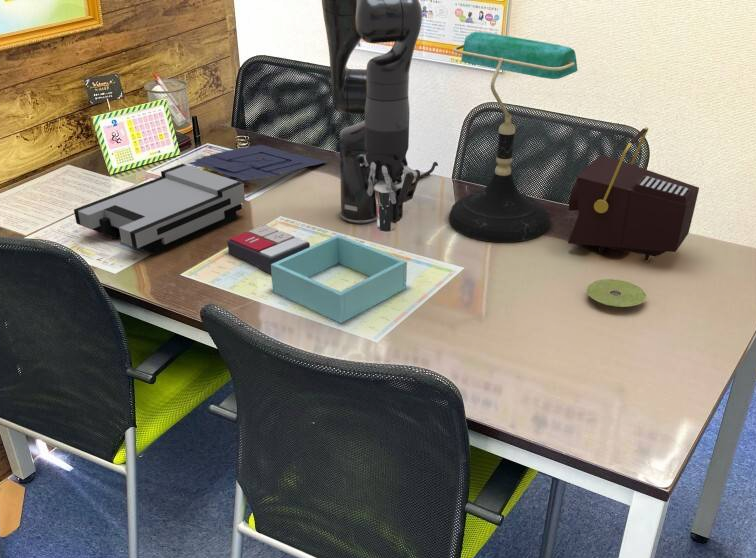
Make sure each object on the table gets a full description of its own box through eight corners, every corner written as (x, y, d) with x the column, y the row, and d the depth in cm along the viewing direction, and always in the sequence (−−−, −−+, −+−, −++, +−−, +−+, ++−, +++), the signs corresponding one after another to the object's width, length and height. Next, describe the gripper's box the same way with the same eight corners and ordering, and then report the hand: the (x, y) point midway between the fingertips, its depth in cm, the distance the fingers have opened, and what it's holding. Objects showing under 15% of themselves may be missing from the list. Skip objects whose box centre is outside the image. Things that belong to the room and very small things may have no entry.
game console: (79, 238, 194) (72, 204, 189) (186, 195, 215) (182, 163, 210) (139, 264, 184) (133, 228, 179) (246, 216, 204) (243, 183, 199)
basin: (338, 260, 184) (337, 234, 181) (406, 288, 174) (407, 261, 170) (272, 291, 173) (270, 264, 170) (341, 323, 162) (340, 295, 159)
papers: (182, 172, 224) (182, 158, 223) (260, 154, 246) (260, 141, 244) (251, 193, 212) (251, 178, 211) (327, 172, 234) (328, 158, 232)
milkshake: (368, 224, 159) (368, 172, 153) (397, 223, 159) (398, 170, 153) (371, 234, 155) (370, 181, 149) (400, 233, 155) (401, 179, 150)
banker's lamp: (573, 221, 201) (600, 39, 178) (521, 254, 186) (543, 60, 163) (478, 193, 215) (491, 21, 192) (422, 222, 200) (430, 40, 177)
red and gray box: (265, 222, 192) (310, 239, 183) (267, 240, 194) (311, 258, 185) (225, 237, 186) (270, 255, 176) (228, 256, 188) (272, 274, 179)
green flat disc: (648, 293, 171) (650, 285, 170) (639, 319, 163) (641, 310, 162) (591, 283, 175) (593, 274, 174) (579, 308, 167) (581, 299, 166)
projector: (584, 225, 199) (601, 116, 184) (687, 247, 189) (714, 133, 174) (559, 252, 187) (575, 138, 173) (668, 277, 177) (694, 157, 163)
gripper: (433, 126, 144) (429, 222, 154) (370, 109, 152) (370, 201, 162) (404, 137, 140) (401, 235, 149) (341, 118, 148) (342, 213, 157)
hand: (385, 217), depth 156 cm, fingers closed on milkshake, 4 cm apart
